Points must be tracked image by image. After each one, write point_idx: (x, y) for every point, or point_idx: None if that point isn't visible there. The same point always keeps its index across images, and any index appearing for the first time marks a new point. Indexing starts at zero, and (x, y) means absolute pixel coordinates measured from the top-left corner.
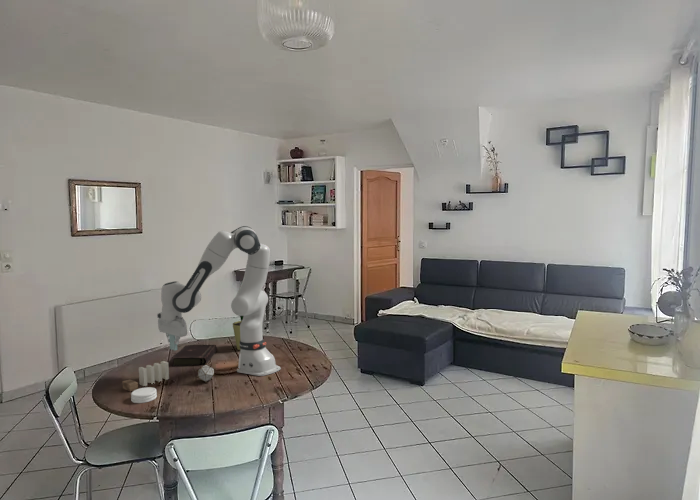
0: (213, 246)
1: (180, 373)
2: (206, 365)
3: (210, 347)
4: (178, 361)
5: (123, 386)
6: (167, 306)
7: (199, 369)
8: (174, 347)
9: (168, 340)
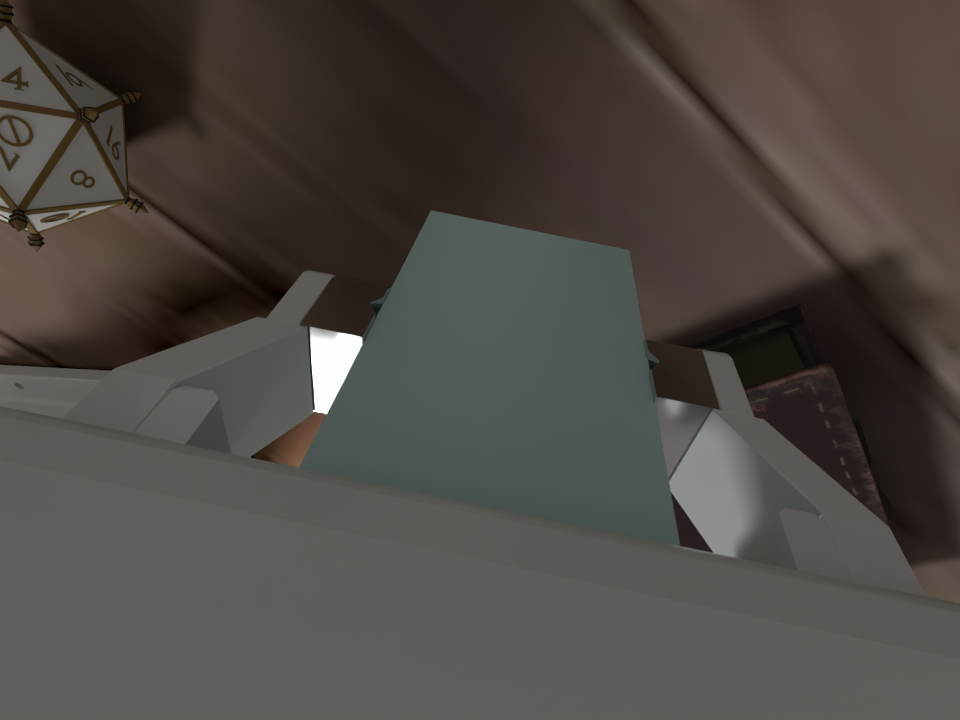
0: None
1: (527, 177)
2: None
3: None
4: (745, 371)
5: None
6: None
7: (1, 100)
8: (426, 243)
9: (696, 375)
